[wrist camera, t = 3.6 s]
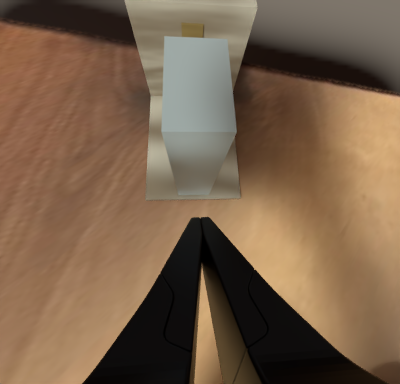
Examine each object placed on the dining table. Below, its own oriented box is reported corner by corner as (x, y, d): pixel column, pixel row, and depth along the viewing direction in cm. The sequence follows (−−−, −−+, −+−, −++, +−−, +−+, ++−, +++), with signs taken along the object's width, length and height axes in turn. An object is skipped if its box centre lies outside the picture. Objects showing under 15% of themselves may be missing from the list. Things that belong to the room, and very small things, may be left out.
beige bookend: (239, 198, 20) (284, 163, 10) (146, 200, 19) (103, 164, 10) (229, 91, 24) (255, -5, 15) (152, 89, 24) (126, -13, 14)
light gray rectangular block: (215, 194, 19) (252, 132, 8) (178, 195, 19) (161, 131, 8) (212, 148, 21) (240, 39, 9) (178, 148, 21) (164, 36, 9)
